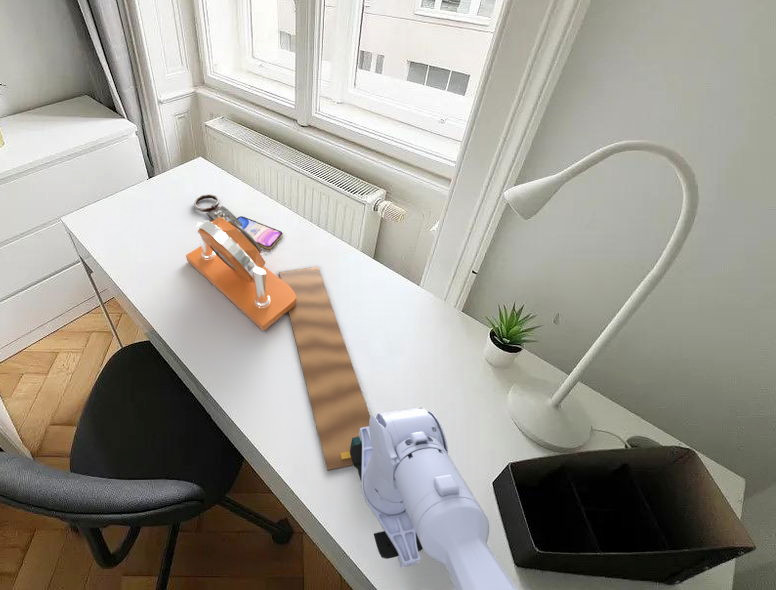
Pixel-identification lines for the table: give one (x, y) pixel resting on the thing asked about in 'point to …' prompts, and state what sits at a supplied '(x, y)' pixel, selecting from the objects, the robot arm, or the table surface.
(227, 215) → the keychain
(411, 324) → the table surface
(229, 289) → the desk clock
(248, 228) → the smartphone
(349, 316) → the table surface
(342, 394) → the mat
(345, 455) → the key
